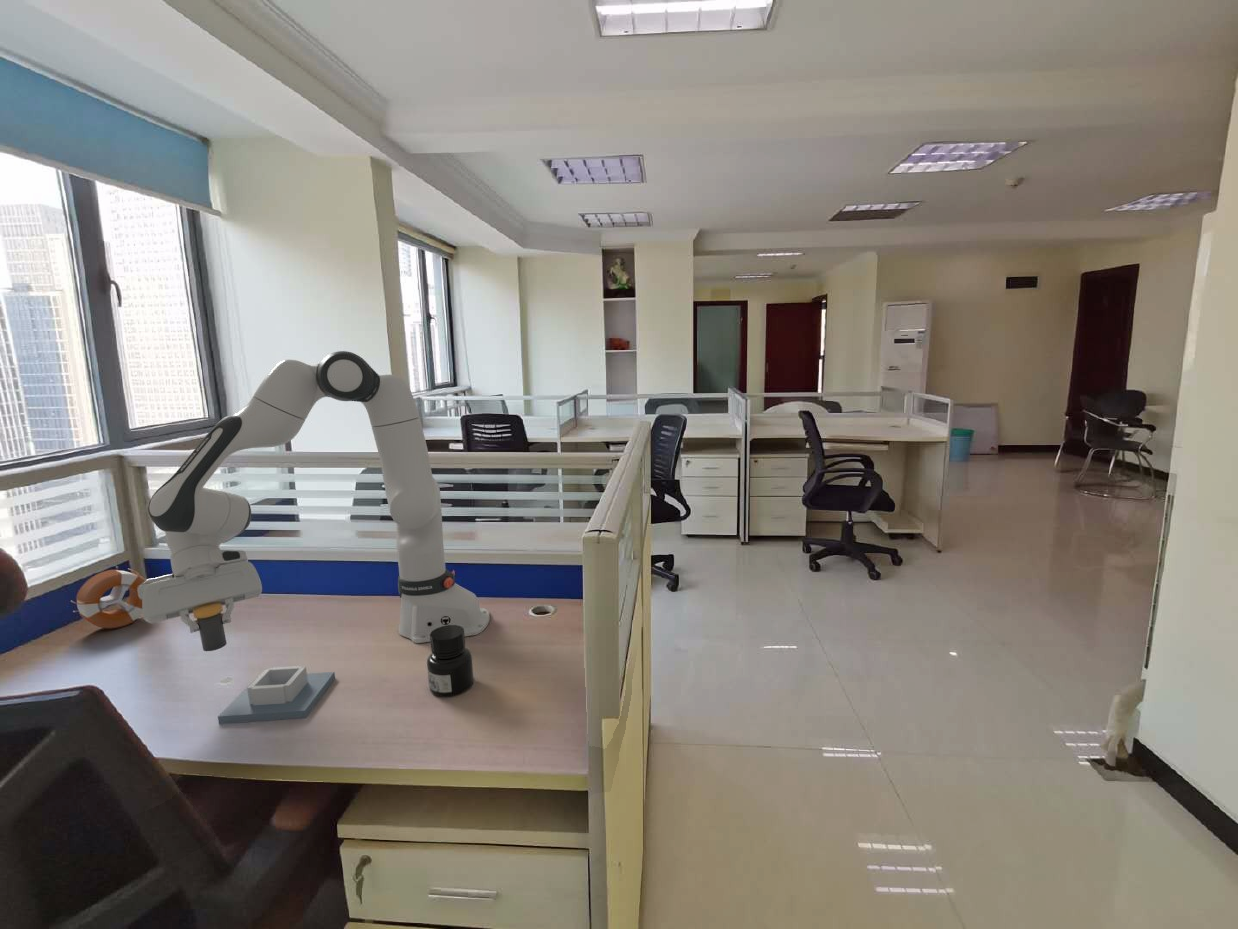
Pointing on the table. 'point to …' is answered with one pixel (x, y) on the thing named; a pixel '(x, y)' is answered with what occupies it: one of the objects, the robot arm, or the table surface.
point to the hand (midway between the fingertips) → (211, 626)
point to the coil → (110, 598)
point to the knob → (210, 626)
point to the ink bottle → (449, 662)
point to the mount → (278, 695)
